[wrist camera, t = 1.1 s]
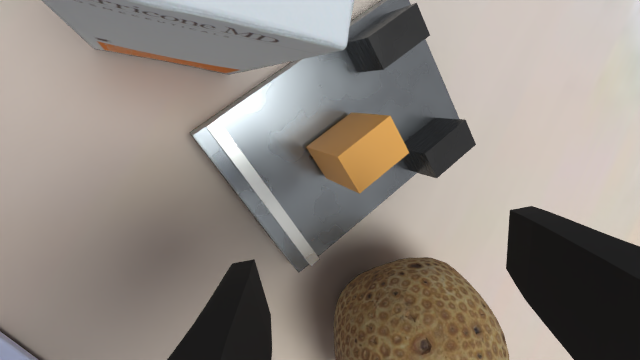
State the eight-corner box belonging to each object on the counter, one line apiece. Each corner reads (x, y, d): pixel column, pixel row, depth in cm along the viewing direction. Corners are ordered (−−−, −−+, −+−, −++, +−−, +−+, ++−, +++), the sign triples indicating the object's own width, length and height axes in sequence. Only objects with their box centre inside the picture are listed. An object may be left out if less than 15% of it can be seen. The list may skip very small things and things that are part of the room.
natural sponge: (426, 220, 25) (577, 287, 16) (418, 339, 27) (550, 457, 18) (298, 240, 22) (403, 340, 13) (299, 375, 24) (391, 544, 15)
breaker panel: (289, 261, 22) (316, 293, 18) (189, 132, 18) (199, 141, 15) (447, 130, 25) (497, 136, 21) (387, -5, 21) (435, -25, 18)
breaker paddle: (325, 178, 20) (359, 193, 16) (306, 147, 19) (337, 156, 16) (368, 144, 20) (409, 152, 17) (351, 112, 19) (390, 115, 16)
